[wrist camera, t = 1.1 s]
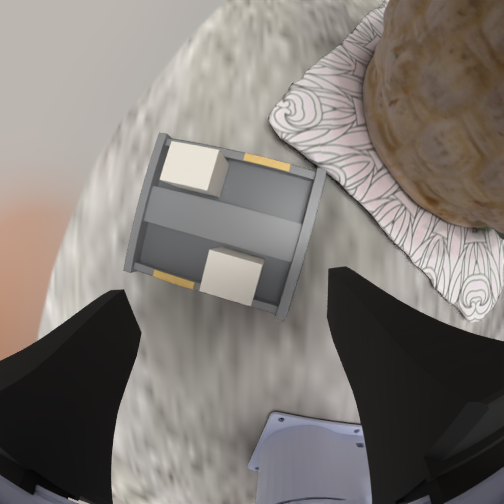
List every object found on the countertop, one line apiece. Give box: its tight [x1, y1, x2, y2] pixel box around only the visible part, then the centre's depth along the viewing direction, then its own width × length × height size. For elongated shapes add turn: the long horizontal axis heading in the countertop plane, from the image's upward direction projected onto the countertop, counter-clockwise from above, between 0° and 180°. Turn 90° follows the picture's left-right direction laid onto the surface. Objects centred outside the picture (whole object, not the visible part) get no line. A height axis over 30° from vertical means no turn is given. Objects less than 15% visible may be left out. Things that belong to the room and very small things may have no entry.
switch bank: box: [123, 133, 327, 321], centre depth 19 cm, size 12×10×2 cm
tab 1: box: [160, 141, 229, 198], centre depth 17 cm, size 3×2×4 cm
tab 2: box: [199, 246, 265, 306], centre depth 17 cm, size 3×2×4 cm
